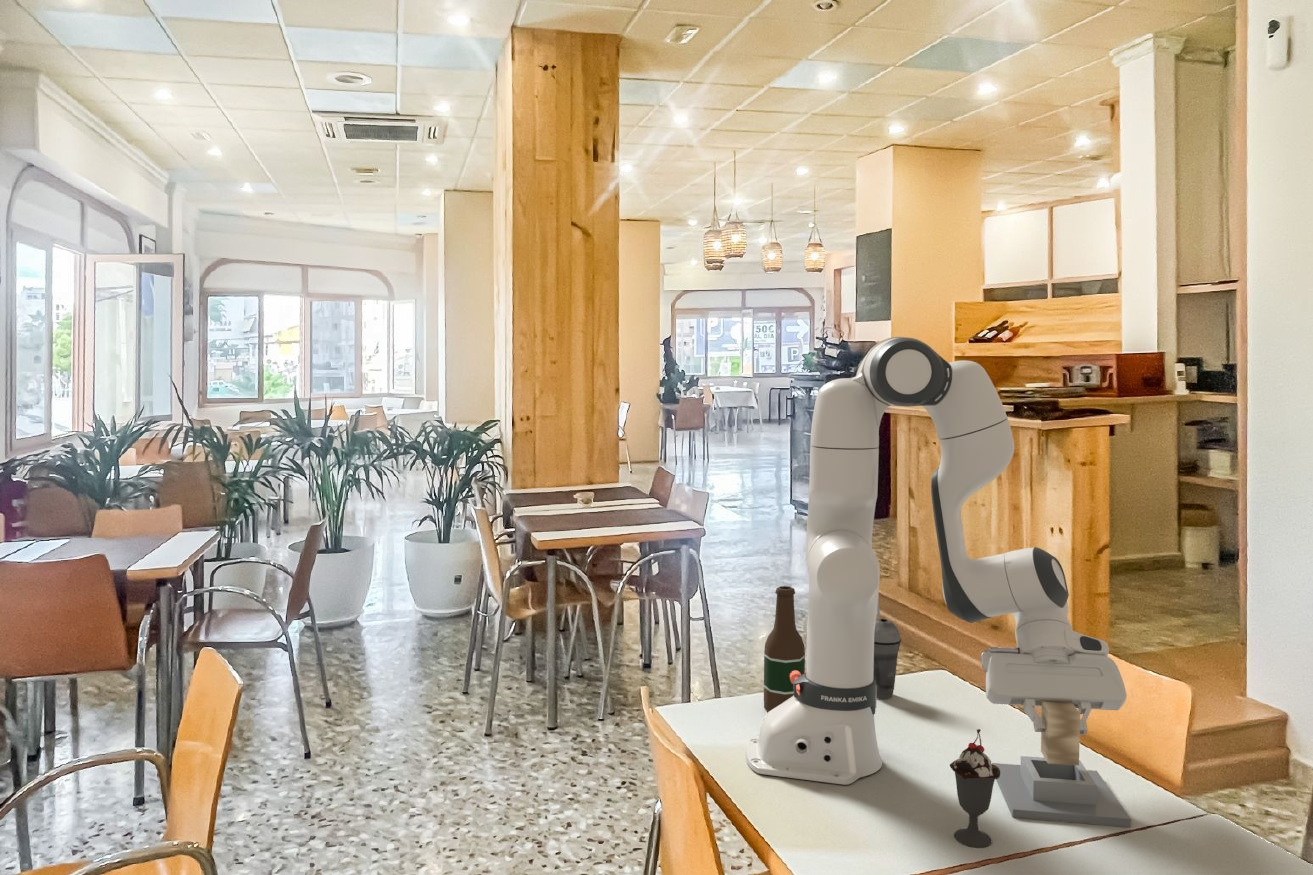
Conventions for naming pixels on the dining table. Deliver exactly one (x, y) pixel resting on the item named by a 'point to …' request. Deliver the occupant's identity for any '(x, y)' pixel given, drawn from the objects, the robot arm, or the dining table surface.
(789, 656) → the beer bottle
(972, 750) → the sundae
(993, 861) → the dining table surface
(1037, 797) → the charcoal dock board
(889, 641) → the beverage cup
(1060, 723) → the wooden block
